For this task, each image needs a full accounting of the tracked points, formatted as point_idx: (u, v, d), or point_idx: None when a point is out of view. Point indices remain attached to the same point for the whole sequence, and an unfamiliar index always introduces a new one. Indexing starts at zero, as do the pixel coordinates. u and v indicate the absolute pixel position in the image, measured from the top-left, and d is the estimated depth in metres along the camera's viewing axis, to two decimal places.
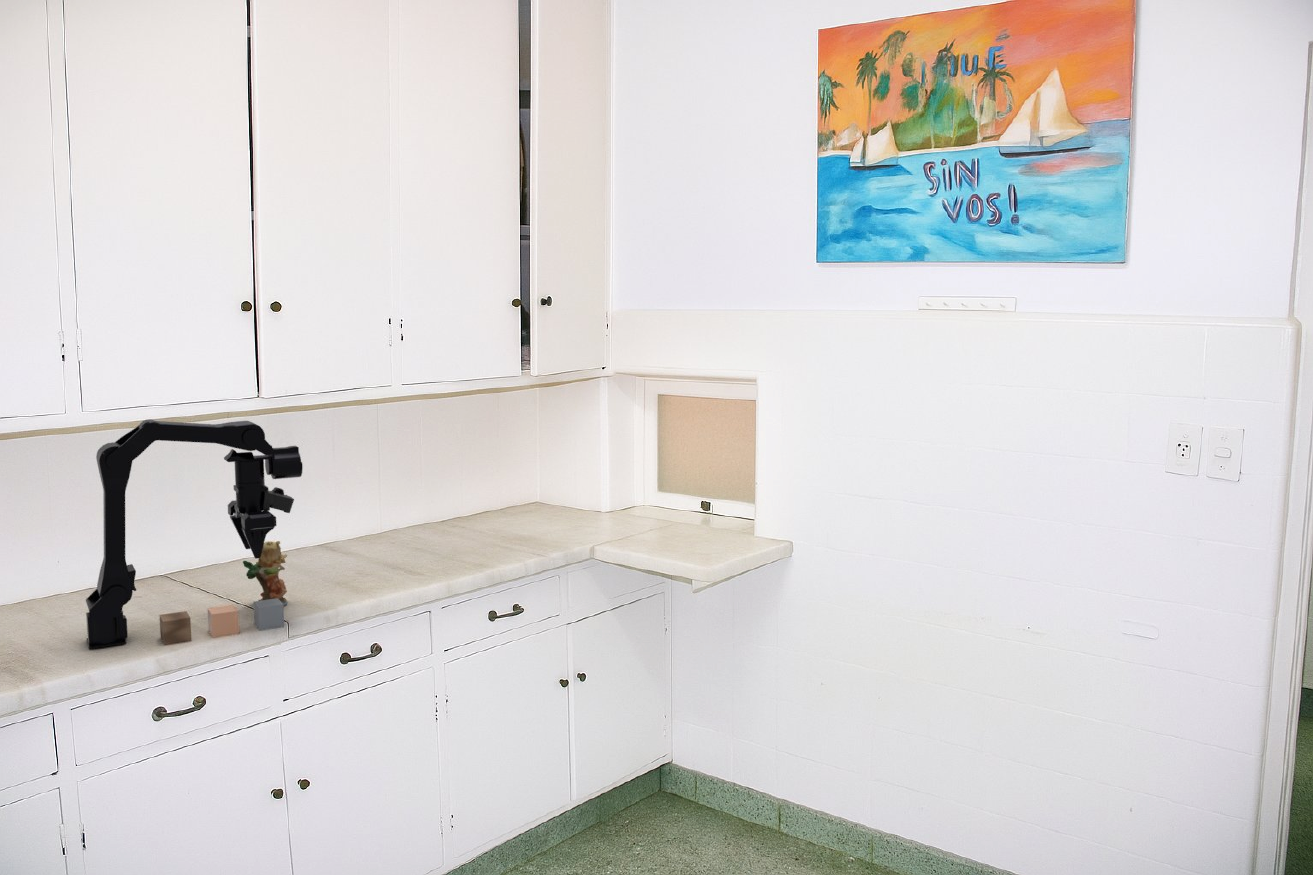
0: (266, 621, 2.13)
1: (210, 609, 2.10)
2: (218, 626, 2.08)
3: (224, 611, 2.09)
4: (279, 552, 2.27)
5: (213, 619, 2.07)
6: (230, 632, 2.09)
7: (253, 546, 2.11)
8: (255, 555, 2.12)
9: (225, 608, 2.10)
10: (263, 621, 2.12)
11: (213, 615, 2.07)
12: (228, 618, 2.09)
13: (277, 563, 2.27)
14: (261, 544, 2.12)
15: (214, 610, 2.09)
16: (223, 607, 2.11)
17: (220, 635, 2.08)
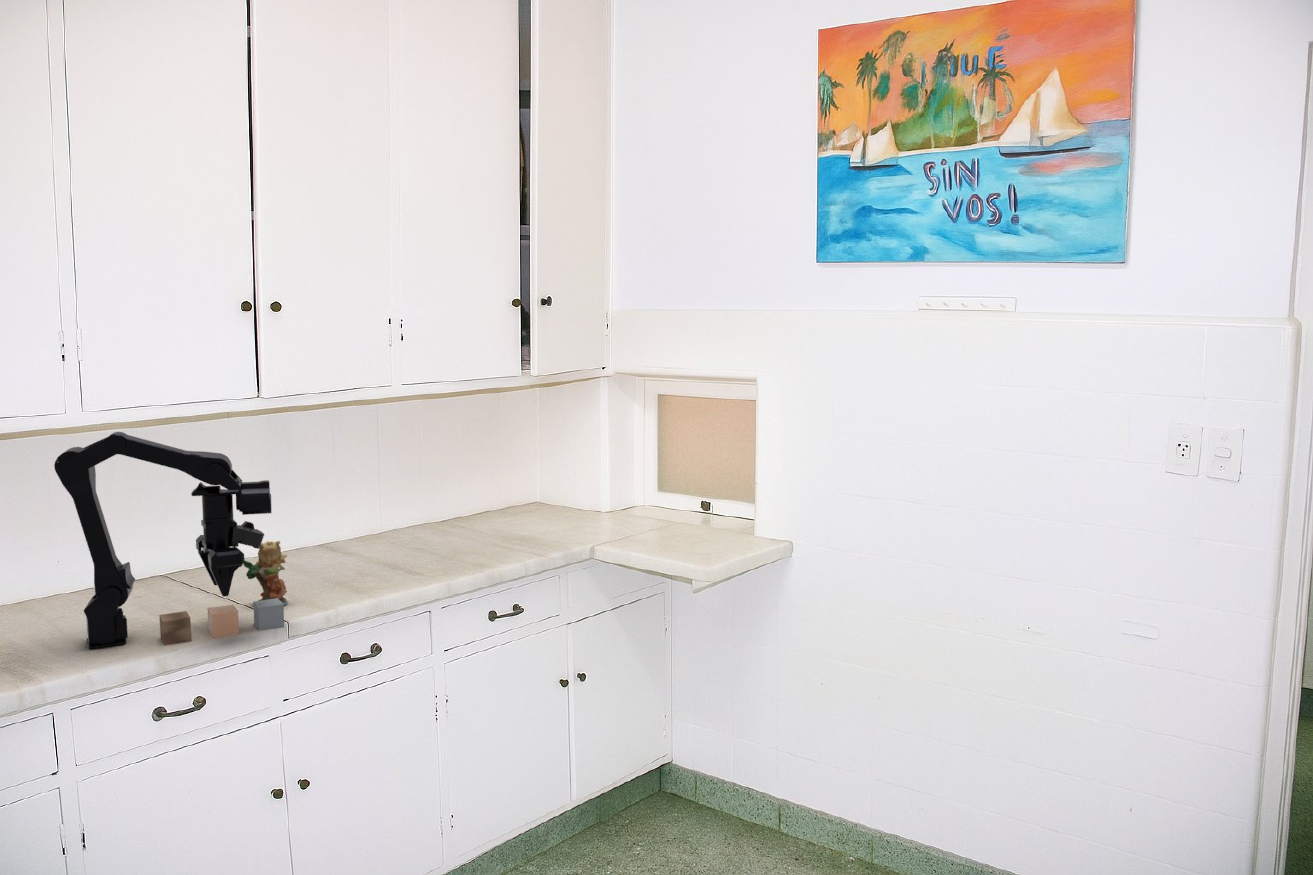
0: (266, 621, 2.13)
1: (210, 609, 2.10)
2: (218, 626, 2.08)
3: (224, 611, 2.09)
4: (279, 552, 2.27)
5: (213, 619, 2.07)
6: (230, 632, 2.09)
7: (220, 584, 2.04)
8: (223, 593, 2.05)
9: (225, 608, 2.10)
10: (263, 621, 2.12)
11: (213, 615, 2.07)
12: (228, 618, 2.09)
13: (277, 563, 2.27)
14: (229, 582, 2.05)
15: (214, 610, 2.09)
16: (223, 607, 2.11)
17: (220, 635, 2.08)
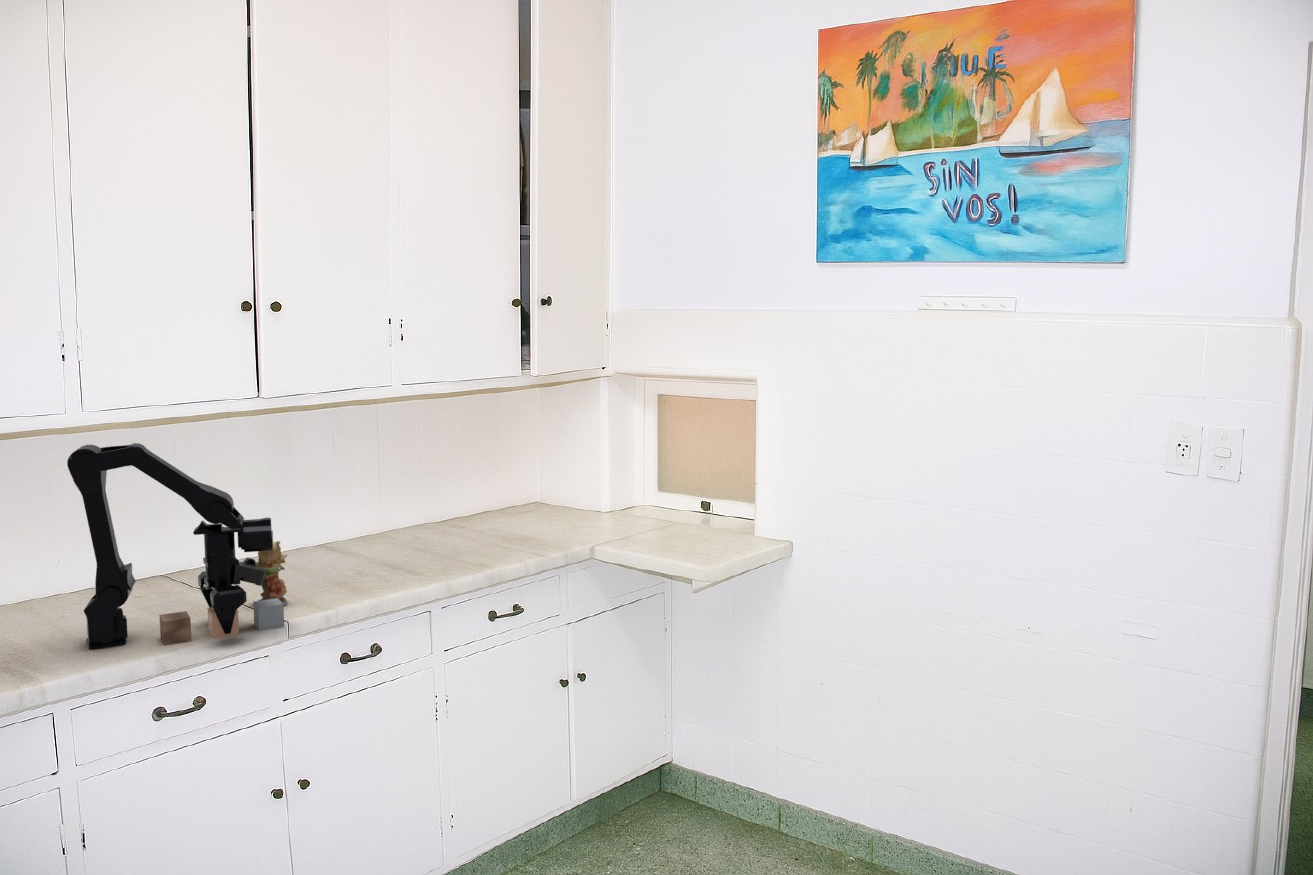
0: (266, 621, 2.13)
1: (210, 609, 2.10)
2: (218, 626, 2.08)
3: None
4: (279, 552, 2.27)
5: (213, 619, 2.07)
6: None
7: (223, 622, 2.05)
8: (225, 631, 2.06)
9: None
10: (263, 621, 2.12)
11: (213, 615, 2.07)
12: None
13: (277, 563, 2.27)
14: (231, 619, 2.06)
15: None
16: None
17: (220, 635, 2.08)
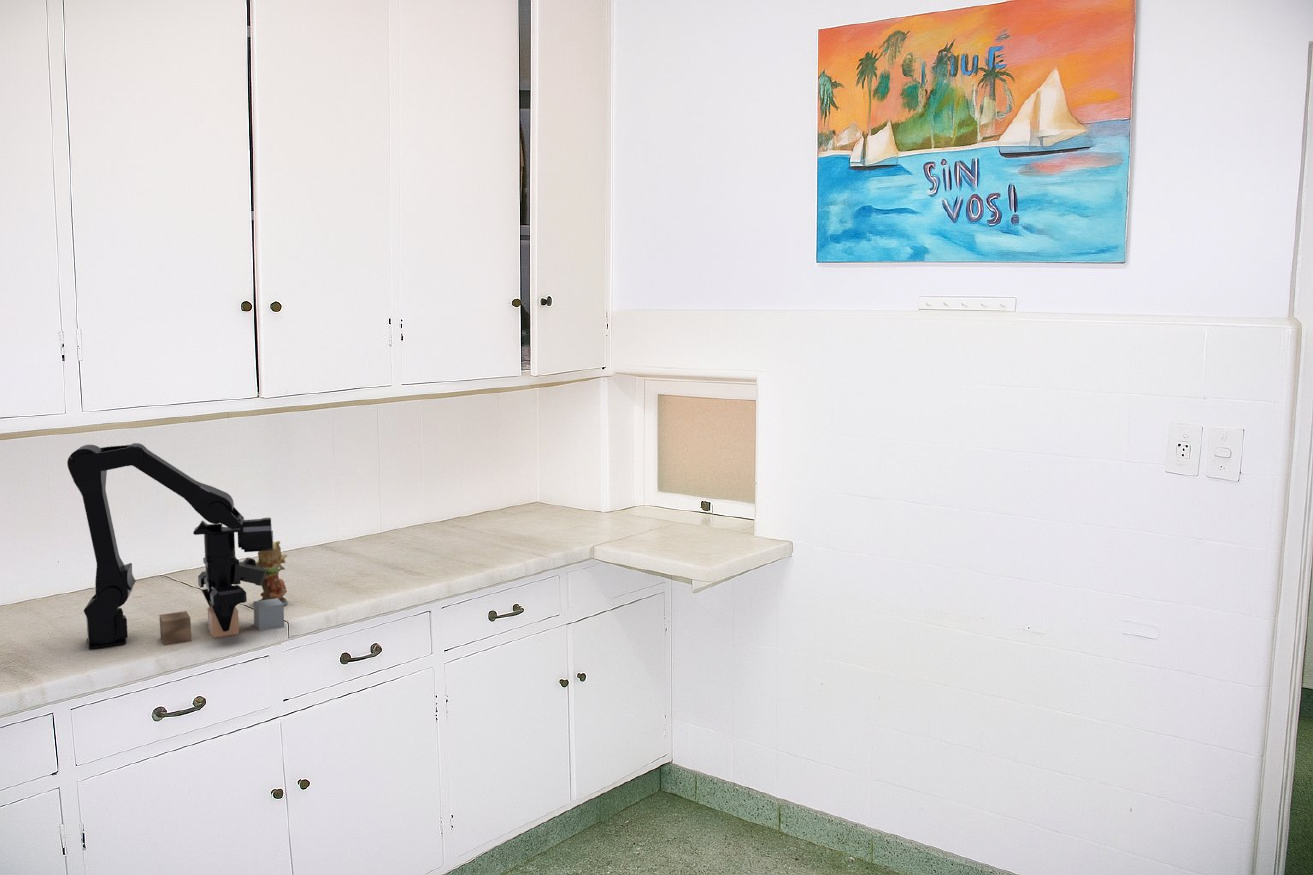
0: (266, 621, 2.13)
1: (210, 609, 2.10)
2: (218, 625, 2.08)
3: None
4: (279, 552, 2.27)
5: (213, 619, 2.07)
6: (230, 631, 2.09)
7: (221, 619, 2.07)
8: (223, 628, 2.08)
9: None
10: (263, 621, 2.12)
11: (213, 615, 2.07)
12: None
13: (277, 563, 2.27)
14: (229, 617, 2.08)
15: None
16: None
17: (220, 635, 2.08)
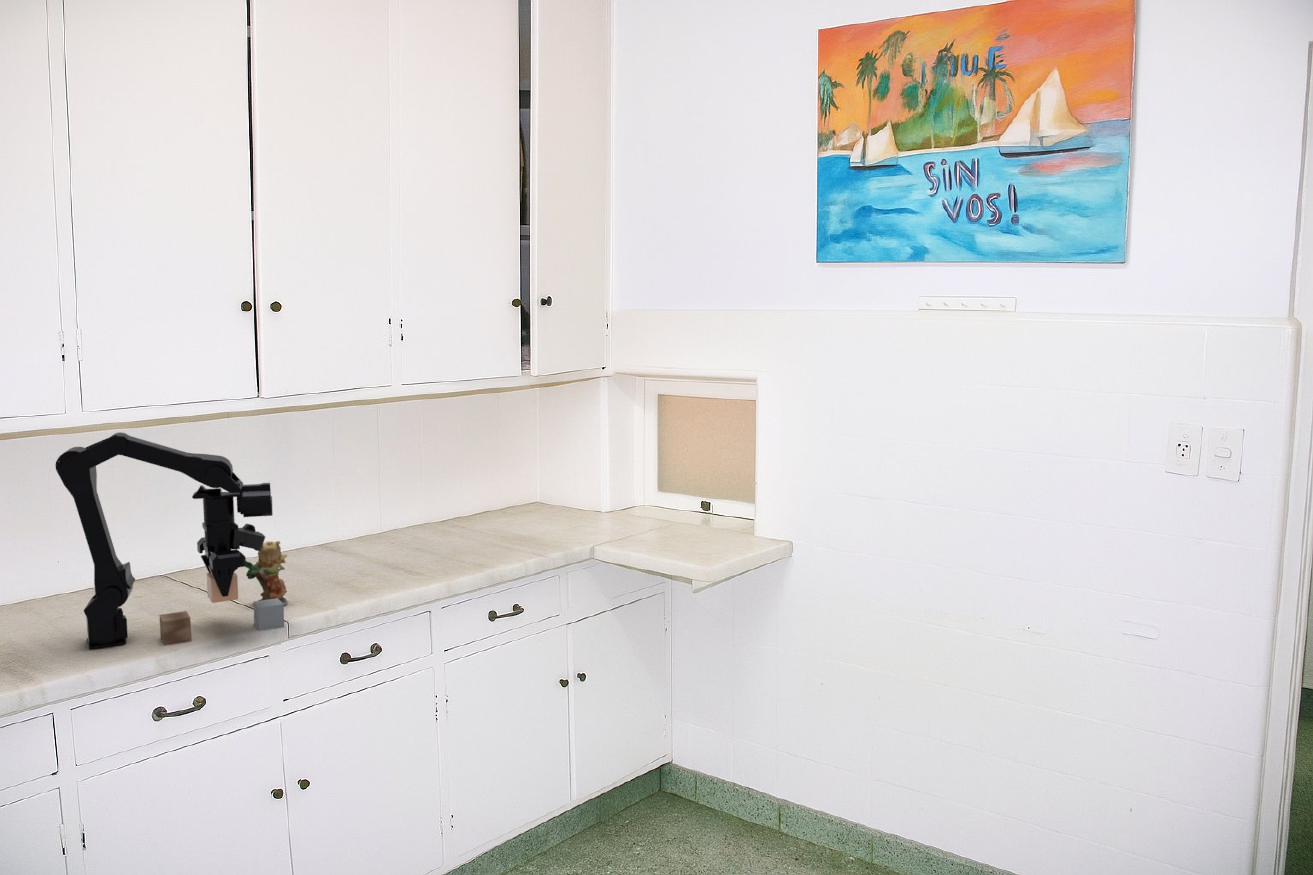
0: (266, 621, 2.13)
1: (209, 574, 2.09)
2: (217, 590, 2.07)
3: None
4: (279, 552, 2.27)
5: (212, 584, 2.06)
6: (229, 597, 2.08)
7: (220, 584, 2.06)
8: (222, 593, 2.07)
9: None
10: (263, 621, 2.12)
11: (212, 580, 2.06)
12: None
13: (277, 563, 2.27)
14: (228, 582, 2.07)
15: None
16: None
17: (219, 600, 2.07)
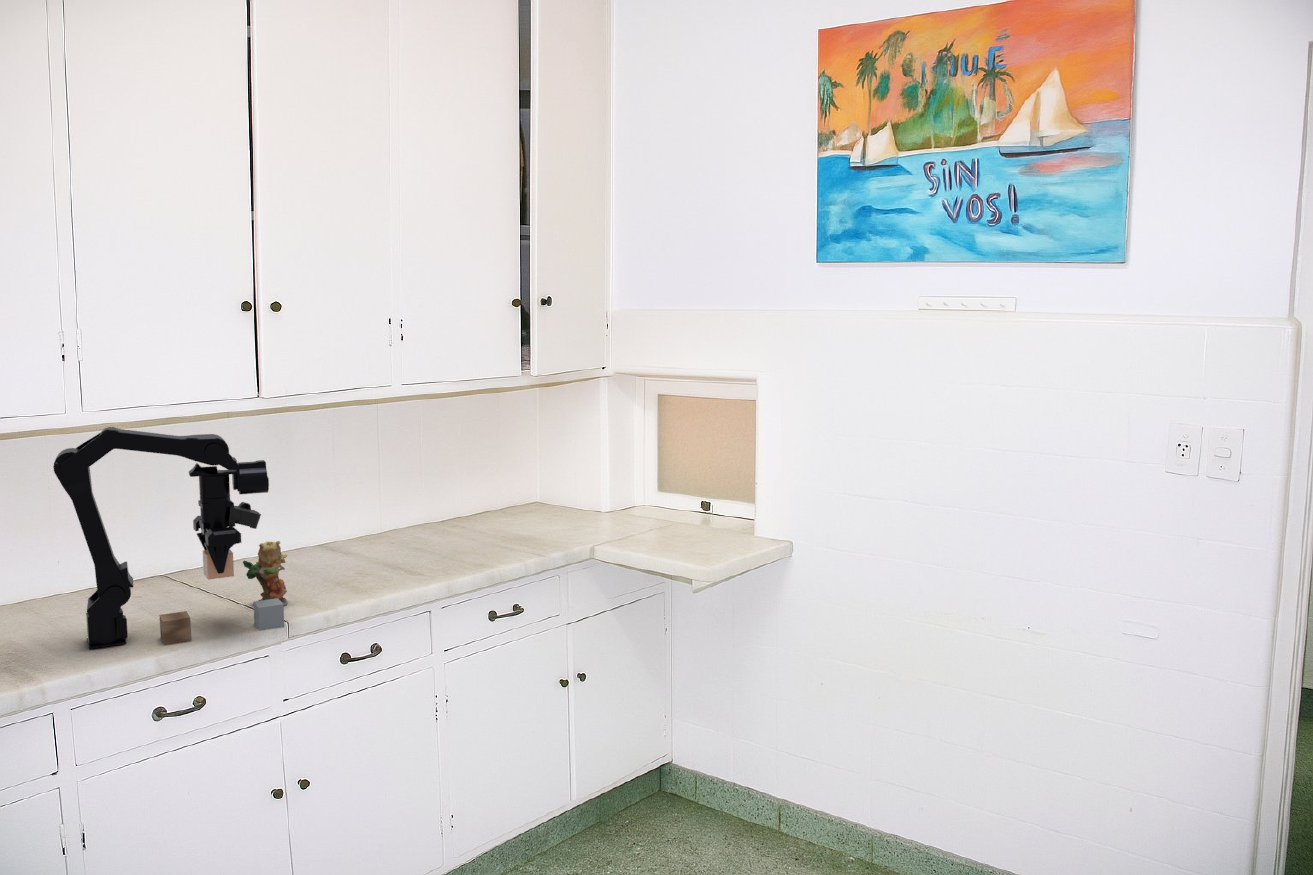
0: (266, 621, 2.13)
1: (205, 551, 2.11)
2: (213, 567, 2.09)
3: None
4: (279, 552, 2.27)
5: (208, 560, 2.08)
6: (225, 574, 2.10)
7: (216, 561, 2.08)
8: (218, 570, 2.09)
9: None
10: (263, 621, 2.12)
11: (208, 556, 2.08)
12: None
13: (277, 563, 2.27)
14: (224, 559, 2.09)
15: None
16: None
17: (215, 577, 2.09)
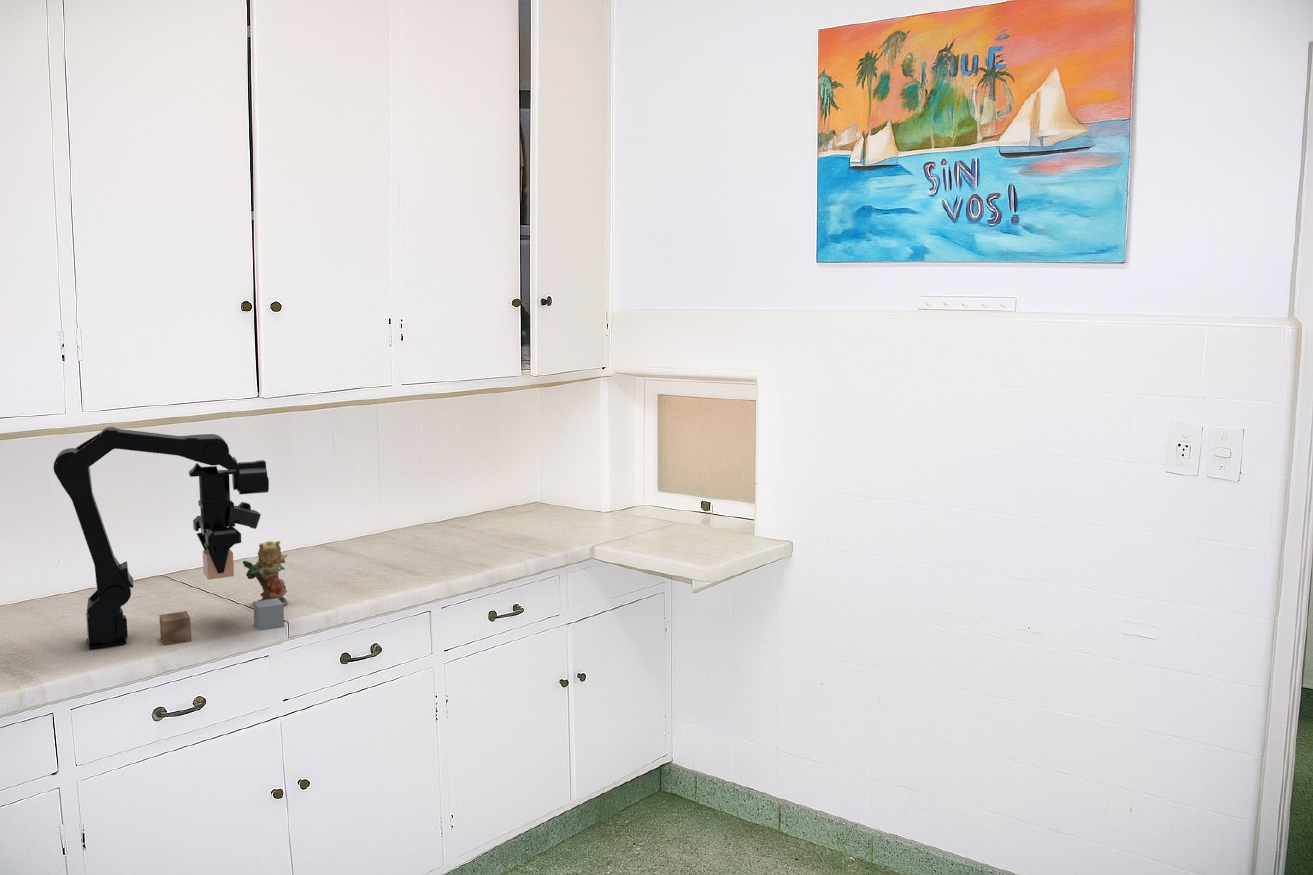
0: (266, 621, 2.13)
1: (205, 551, 2.11)
2: (213, 567, 2.09)
3: None
4: (279, 552, 2.27)
5: (208, 560, 2.08)
6: (225, 574, 2.10)
7: (216, 561, 2.08)
8: (218, 570, 2.09)
9: None
10: (263, 621, 2.12)
11: (208, 556, 2.08)
12: None
13: (277, 563, 2.27)
14: (224, 559, 2.09)
15: None
16: None
17: (215, 577, 2.09)
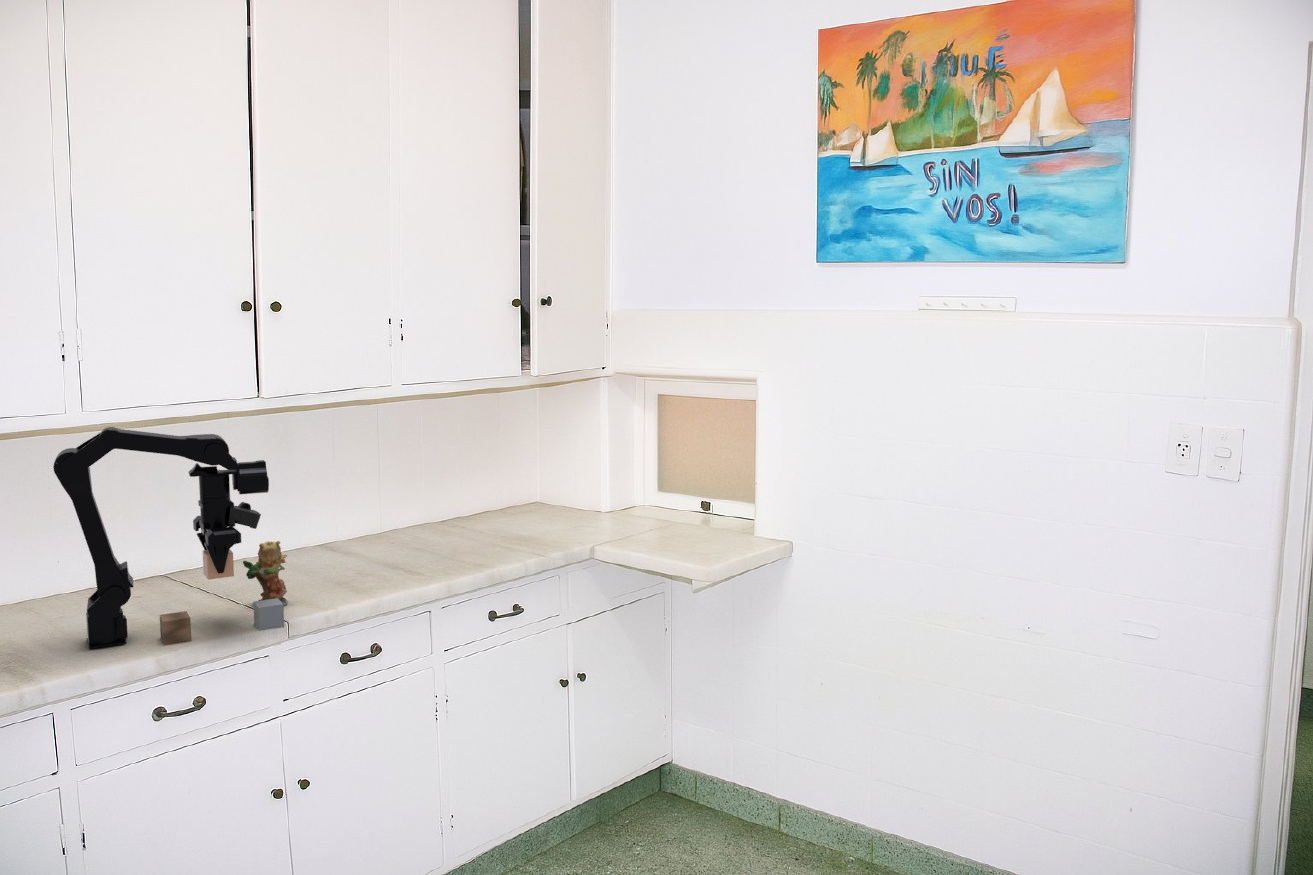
0: (266, 621, 2.13)
1: (205, 551, 2.11)
2: (213, 567, 2.09)
3: None
4: (279, 552, 2.27)
5: (208, 560, 2.08)
6: (225, 574, 2.10)
7: (216, 561, 2.08)
8: (218, 570, 2.09)
9: None
10: (263, 621, 2.12)
11: (208, 556, 2.08)
12: None
13: (277, 563, 2.27)
14: (224, 559, 2.09)
15: None
16: None
17: (215, 577, 2.09)
